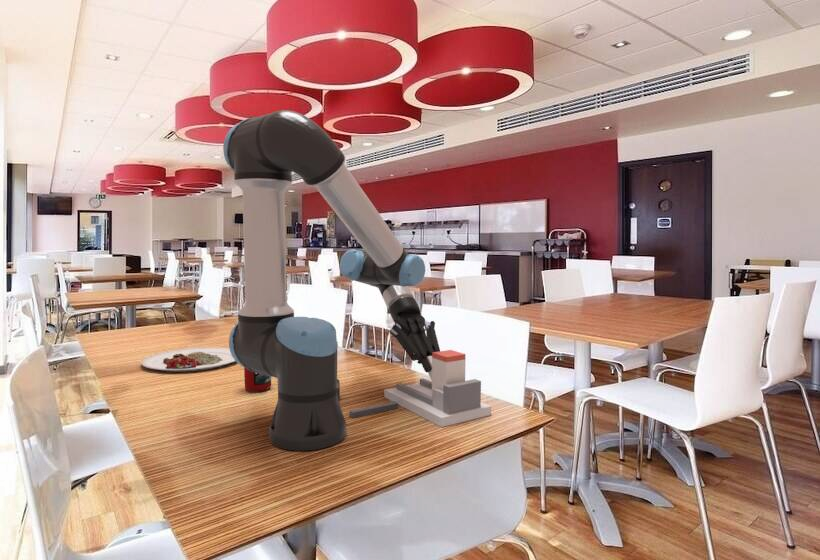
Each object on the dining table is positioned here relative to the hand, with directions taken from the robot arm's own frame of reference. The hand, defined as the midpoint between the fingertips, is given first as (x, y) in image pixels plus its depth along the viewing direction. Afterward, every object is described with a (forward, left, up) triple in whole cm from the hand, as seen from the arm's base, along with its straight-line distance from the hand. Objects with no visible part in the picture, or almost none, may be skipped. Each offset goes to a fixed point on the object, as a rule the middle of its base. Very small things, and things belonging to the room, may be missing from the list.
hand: (439, 382), depth 119 cm
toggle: (-2, -3, -4) cm, 5 cm away
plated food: (+11, +87, -7) cm, 88 cm away
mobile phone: (-8, +24, -6) cm, 27 cm away
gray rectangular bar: (-9, +13, -6) cm, 17 cm away
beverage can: (-5, +49, -6) cm, 49 cm away
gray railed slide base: (0, +1, -6) cm, 6 cm away
